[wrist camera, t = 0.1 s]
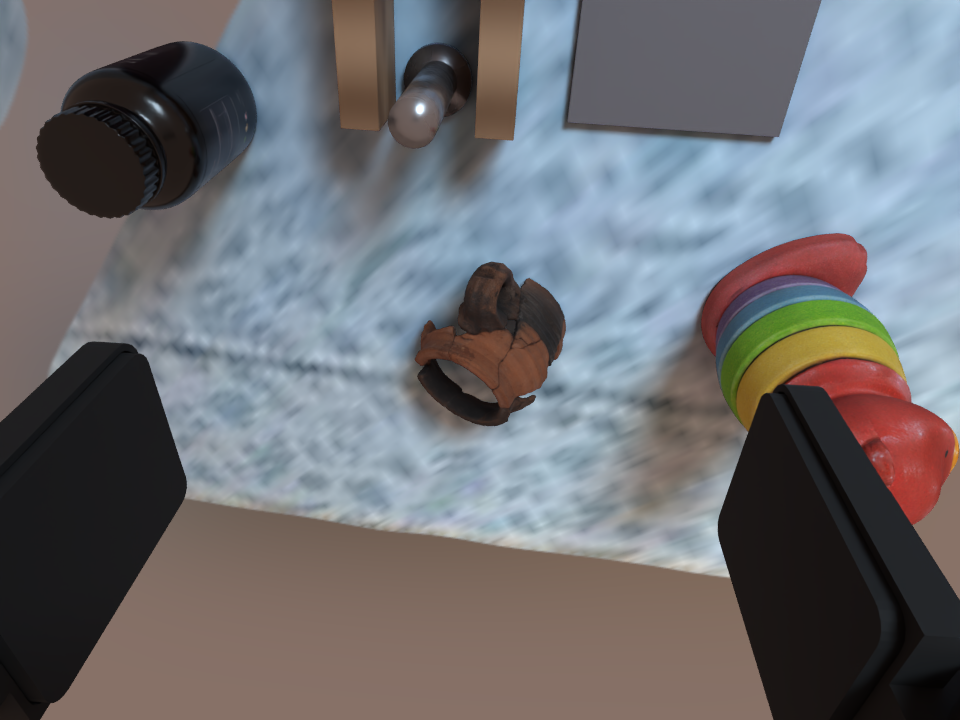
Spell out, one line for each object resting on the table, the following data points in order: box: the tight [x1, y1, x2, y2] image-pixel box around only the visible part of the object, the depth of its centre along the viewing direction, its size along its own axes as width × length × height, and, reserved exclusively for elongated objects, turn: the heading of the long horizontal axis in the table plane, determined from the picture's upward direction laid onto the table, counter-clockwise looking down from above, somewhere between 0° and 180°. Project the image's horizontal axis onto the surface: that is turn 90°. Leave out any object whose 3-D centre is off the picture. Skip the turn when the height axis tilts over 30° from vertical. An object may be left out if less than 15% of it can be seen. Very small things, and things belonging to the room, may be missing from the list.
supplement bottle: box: [36, 41, 257, 218], centre depth 33 cm, size 7×7×12 cm
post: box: [388, 43, 472, 149], centre depth 32 cm, size 4×4×10 cm
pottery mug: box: [415, 262, 566, 426], centre depth 43 cm, size 12×10×8 cm
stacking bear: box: [701, 233, 959, 525], centre depth 36 cm, size 11×10×18 cm
